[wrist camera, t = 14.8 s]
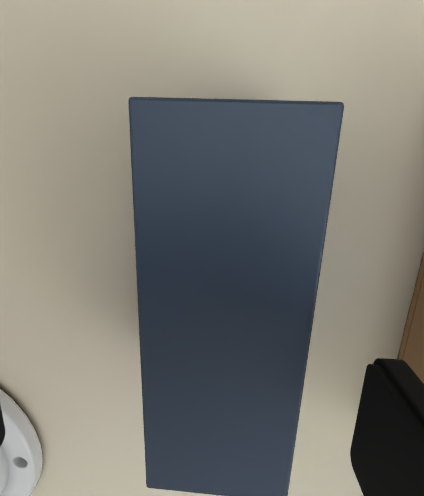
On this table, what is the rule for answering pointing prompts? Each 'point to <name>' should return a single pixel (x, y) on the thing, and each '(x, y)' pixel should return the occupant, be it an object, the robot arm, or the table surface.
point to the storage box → (415, 330)
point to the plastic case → (227, 282)
